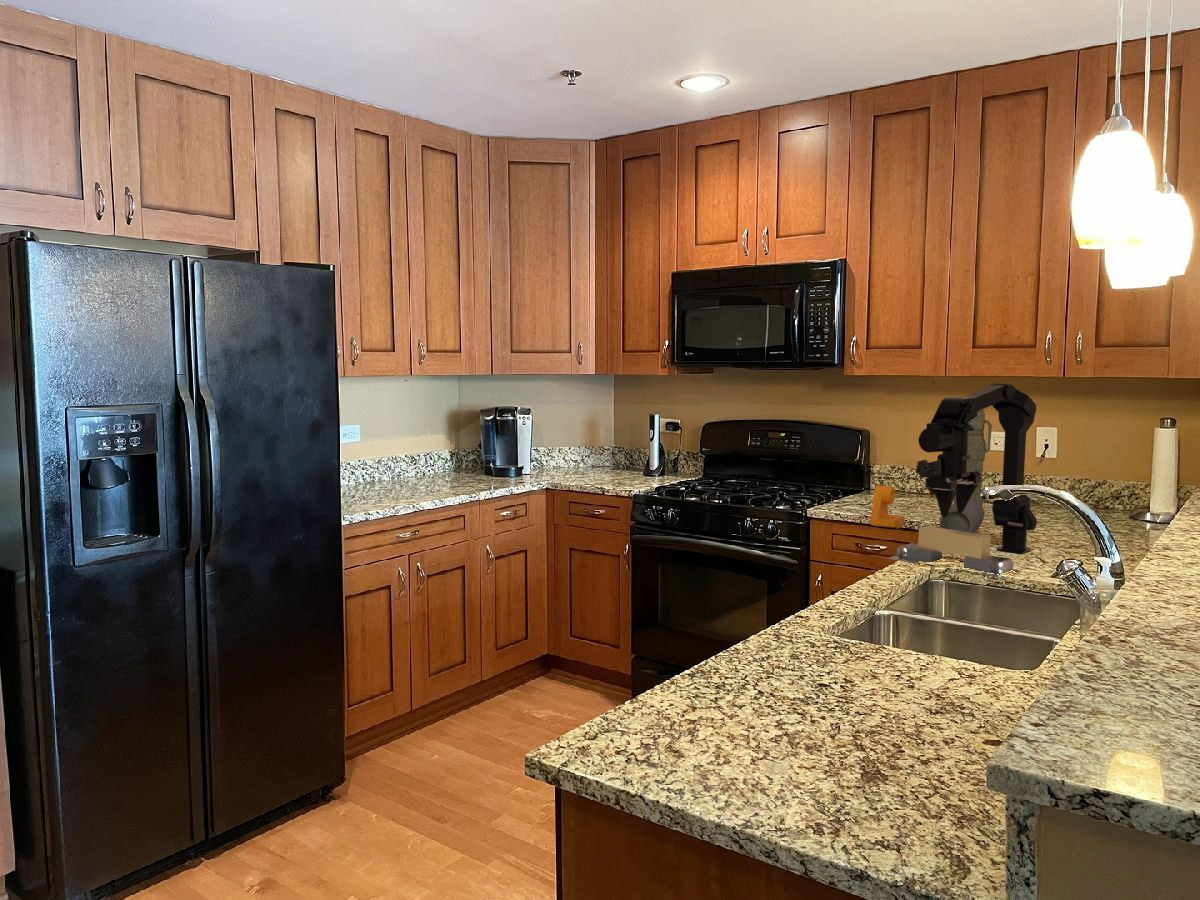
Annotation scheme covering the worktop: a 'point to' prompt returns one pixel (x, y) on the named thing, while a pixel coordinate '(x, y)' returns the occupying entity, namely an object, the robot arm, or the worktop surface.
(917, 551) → the pair of grey blocks
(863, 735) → the worktop surface
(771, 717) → the worktop surface
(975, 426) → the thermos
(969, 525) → the bluetooth speaker
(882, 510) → the bracket
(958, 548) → the tan wooden block
